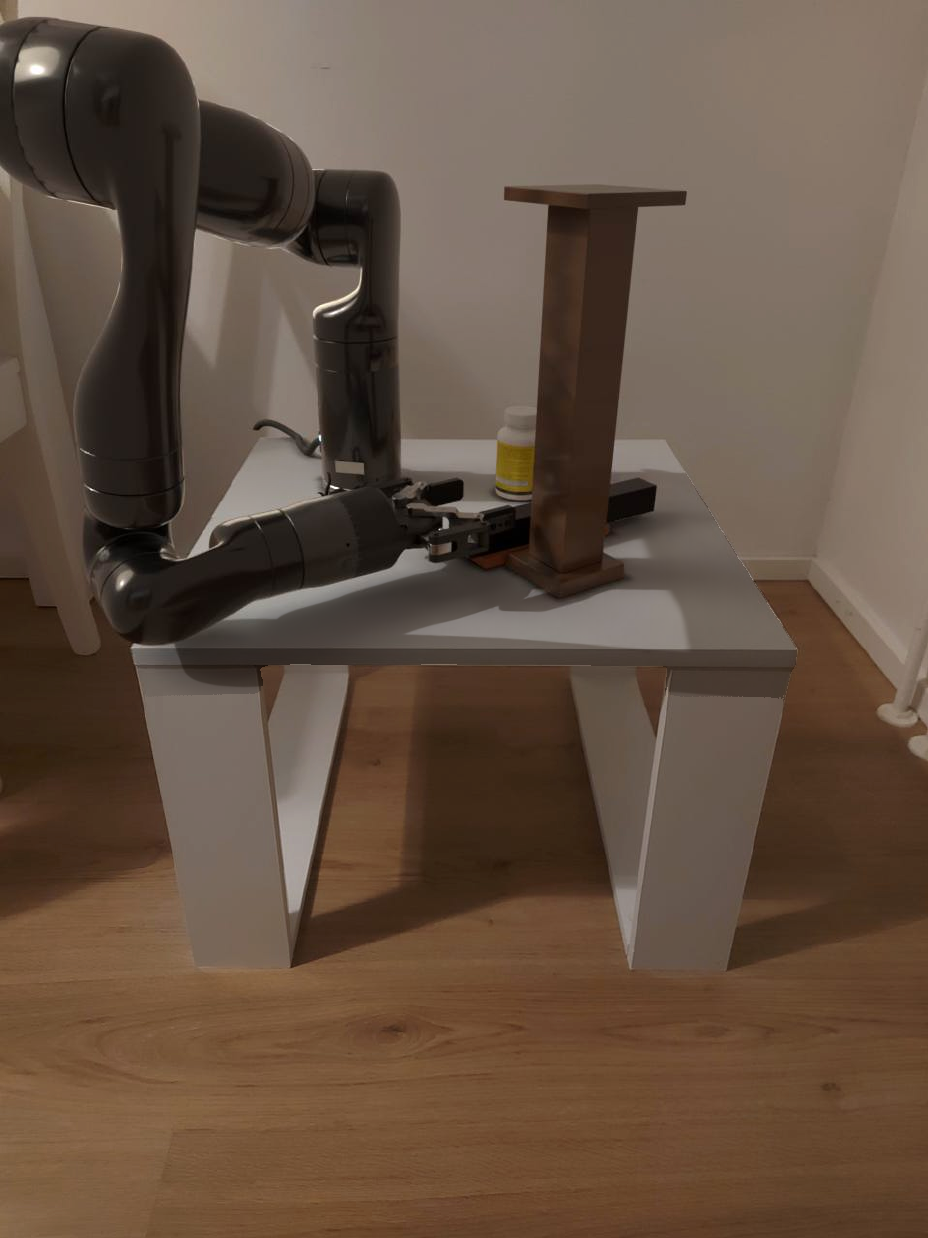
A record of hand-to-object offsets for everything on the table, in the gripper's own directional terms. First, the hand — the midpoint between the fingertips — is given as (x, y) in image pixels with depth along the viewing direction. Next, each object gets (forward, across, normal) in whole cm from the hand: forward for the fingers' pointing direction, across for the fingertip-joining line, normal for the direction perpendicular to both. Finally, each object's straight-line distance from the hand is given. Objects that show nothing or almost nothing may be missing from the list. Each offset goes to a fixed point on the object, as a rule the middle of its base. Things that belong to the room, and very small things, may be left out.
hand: (486, 501), depth 83 cm
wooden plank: (+6, 0, +6) cm, 9 cm away
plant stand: (+4, -7, +6) cm, 10 cm away
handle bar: (+9, +1, +3) cm, 10 cm away
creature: (-7, +14, +6) cm, 17 cm away
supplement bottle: (+13, +12, +6) cm, 19 cm away
